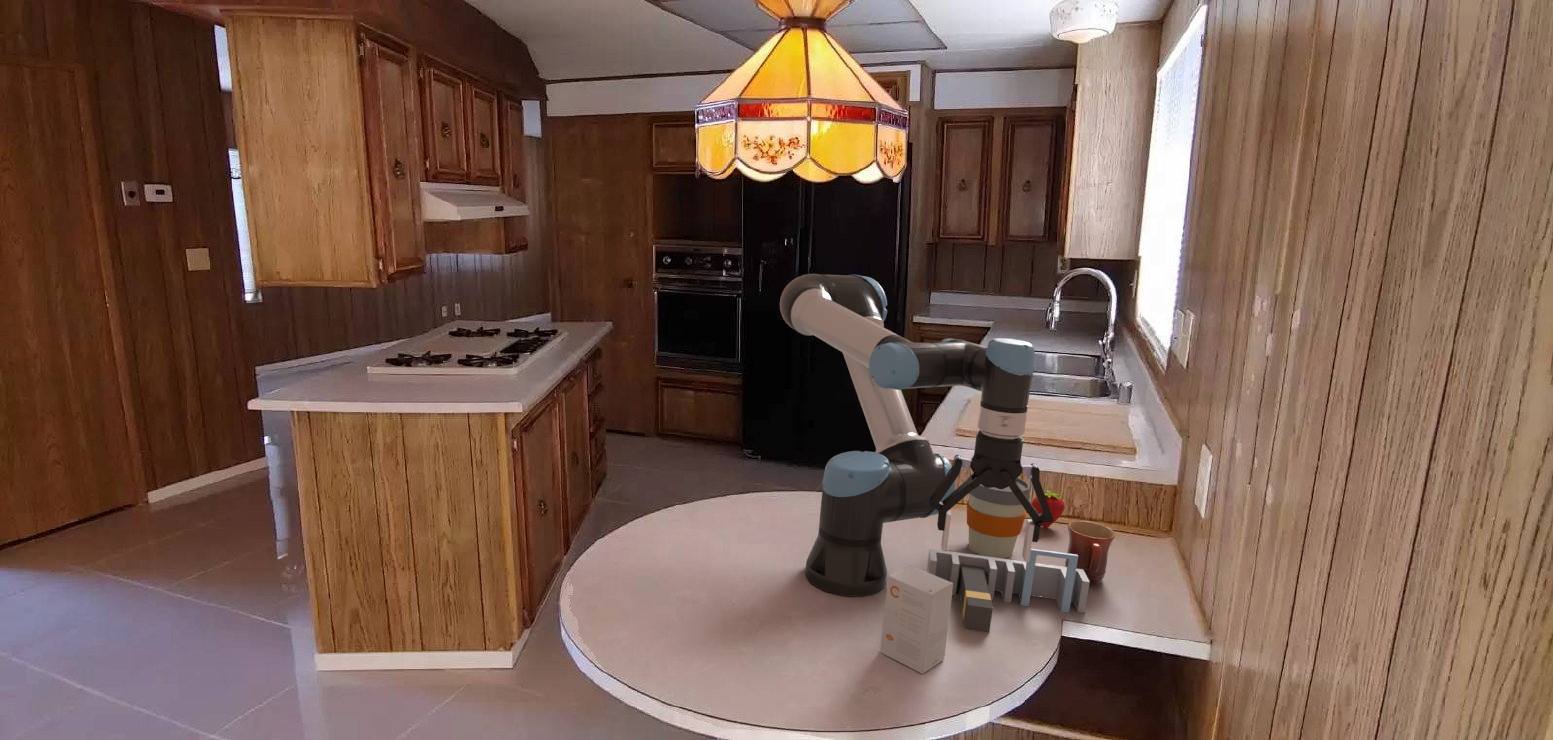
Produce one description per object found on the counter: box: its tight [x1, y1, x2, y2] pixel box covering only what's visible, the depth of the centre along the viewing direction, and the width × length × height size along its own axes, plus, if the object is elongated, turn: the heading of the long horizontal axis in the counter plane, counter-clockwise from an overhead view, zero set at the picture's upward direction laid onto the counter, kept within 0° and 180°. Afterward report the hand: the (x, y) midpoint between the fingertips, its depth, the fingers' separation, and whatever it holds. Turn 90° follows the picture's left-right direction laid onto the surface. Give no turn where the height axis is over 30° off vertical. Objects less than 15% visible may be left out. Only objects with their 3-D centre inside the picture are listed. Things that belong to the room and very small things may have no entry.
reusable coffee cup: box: [966, 477, 1031, 559], centre depth 166 cm, size 13×13×15 cm
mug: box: [1064, 520, 1117, 586], centre depth 155 cm, size 12×9×10 cm
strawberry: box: [1031, 485, 1066, 529], centre depth 181 cm, size 6×8×10 cm
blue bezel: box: [1019, 548, 1078, 613], centre depth 142 cm, size 8×1×11 cm, turn 81°
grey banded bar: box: [957, 564, 994, 634], centre depth 141 cm, size 4×16×5 cm, turn 172°
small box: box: [879, 565, 953, 675], centre depth 123 cm, size 8×6×13 cm
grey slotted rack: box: [926, 548, 1090, 614], centre depth 147 cm, size 28×5×6 cm, turn 81°
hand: (984, 553), depth 136 cm, fingers open, 13 cm apart
